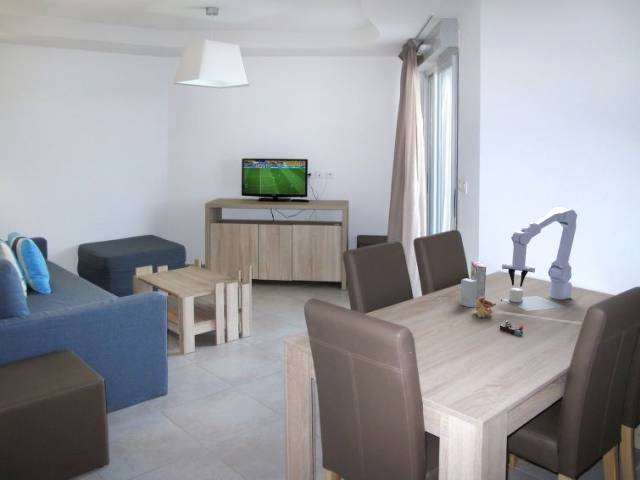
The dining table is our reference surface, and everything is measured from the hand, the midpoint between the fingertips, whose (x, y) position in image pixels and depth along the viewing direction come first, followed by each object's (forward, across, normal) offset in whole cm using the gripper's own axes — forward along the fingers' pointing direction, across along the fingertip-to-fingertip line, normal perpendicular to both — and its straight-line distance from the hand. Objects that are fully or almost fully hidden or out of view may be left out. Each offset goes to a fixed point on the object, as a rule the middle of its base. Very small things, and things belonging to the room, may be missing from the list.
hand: (517, 285), depth 286 cm
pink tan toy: (+9, -10, -27) cm, 30 cm away
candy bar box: (+9, -18, +1) cm, 20 cm away
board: (+8, +7, 0) cm, 11 cm away
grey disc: (+8, 0, 0) cm, 8 cm away
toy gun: (+9, +6, -42) cm, 43 cm away
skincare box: (+9, -19, -15) cm, 26 cm away
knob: (+7, 0, 0) cm, 7 cm away
